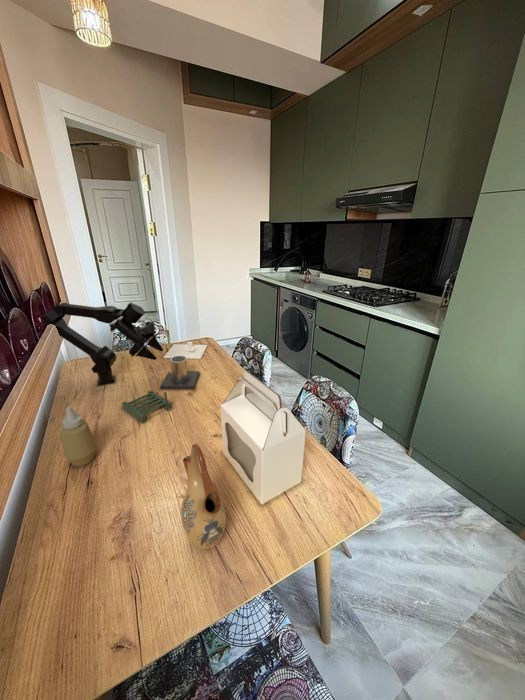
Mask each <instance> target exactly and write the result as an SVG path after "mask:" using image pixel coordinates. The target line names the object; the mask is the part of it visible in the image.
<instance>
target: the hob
mask: <svg viewBox="0 0 525 700" xmlns="http://www.w3.org/2000/svg"><path fill="white" fill-rule="evenodd" d="M187 371H188V378H187V379H185V380H182V381H176V380H174V379H173V376H172V370H168V373H167V374H166V376H165V378H164V379H163V381H162V383H161V384H160V390H194V389H195V387H196V384H197V381H198V379H199V376H200V371H199V370H195V371H194V370H187Z"/></svg>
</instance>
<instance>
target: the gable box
mask: <svg viewBox="0 0 525 700" xmlns="http://www.w3.org/2000/svg"><path fill="white" fill-rule="evenodd" d="M220 419H221V420H220V421H221V422H220V423H221V439H222V440H221V441H222V454H223V455H224V456H225V458H226V459H227V460H228V462H229V463H230V464H231V465H232V467H233V468H234V470H235V471H236V472H237V474H238V475H239V476H240V478H241V479H242V480H243V482H244V483H245V484H246V486H247V487H248V489H249V490H250V492H252V494H253V495H254V497H255V498H256V500H257V501H258V502H259V503H260V505H263V504H265V503H267V502H269V501H271V500H273V499H274V498H276V497H278V496H279V495H282V493H285V492H286V491H288V490H290V489H292V488H294V487H295V486H297V485H298V484H301V483H302V478H303V467H304V457H305V455H304V454H305V443H306V433H307V429H305V428H304V427H303V425H302V424H301V423H300V421H299V420H298V419H297V417H296V416H295V415H294V414H293V413H292V411H291V409H289V408H288V407H285V406H282V398H281V395H280V394H279V393H277V391H275V390H273V389H272V388H271V387H269V386H268V385H267V384H266V383H264V382H263V381H261V380H260V379H259V378H257V377H256V376H255V375H253V374H252V372H249V370H245V371H244V372H243V376H242V375H239V380H238V381H237V382H236V383H235V385H234V386H233V387H232V389H231V390H230V391H229V393H228V394H227V396H226V398H225V399H224V401H223V402H222V403H221V404H220ZM284 434H285V435H284Z"/></svg>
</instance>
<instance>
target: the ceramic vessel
mask: <svg viewBox="0 0 525 700" xmlns="http://www.w3.org/2000/svg"><path fill="white" fill-rule="evenodd" d="M182 463H183V465H184V468H185V471H186V476H187V488H186V491H185V494H184V496H183V499H182V502H181V507H180V508H181V509H180V518H181V525H182V529H183V532H184V534H185V536H186V537H187V539H188V541H189V542H190V543H191V544H193V545H194V547H197V548H199V549H201V550H210V549H213V548H214V547H216V546H217V545H218V544H219V543H220V542H221V540H222V538H223V536H224V533H225V529H226V525H227V524H226V522H227V521H226V520H227V515H226V508H225V505H224V502H223V500H222V498H221V496H220V494H219V492H218V490H217V488H216V486H215V484H214V483H213V481H212V479H211V476H210V474H209V471H208V467H207V463H206V458H205V456H204V453H203V450H202V449H201V447H200V445H199V444H198V443H193V444H192V446H191V452H190V455H188V456H185V457H184V458H183V459H182Z"/></svg>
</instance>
